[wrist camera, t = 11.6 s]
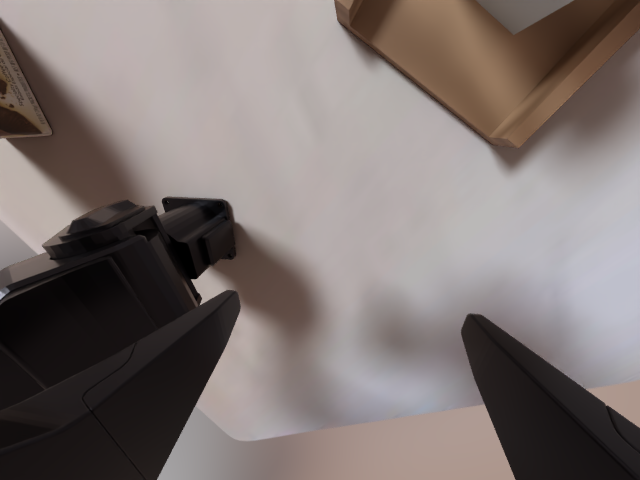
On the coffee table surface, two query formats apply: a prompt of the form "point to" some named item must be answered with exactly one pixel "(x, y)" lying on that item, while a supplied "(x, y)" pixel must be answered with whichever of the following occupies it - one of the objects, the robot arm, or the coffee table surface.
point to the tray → (493, 55)
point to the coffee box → (17, 100)
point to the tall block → (521, 11)
